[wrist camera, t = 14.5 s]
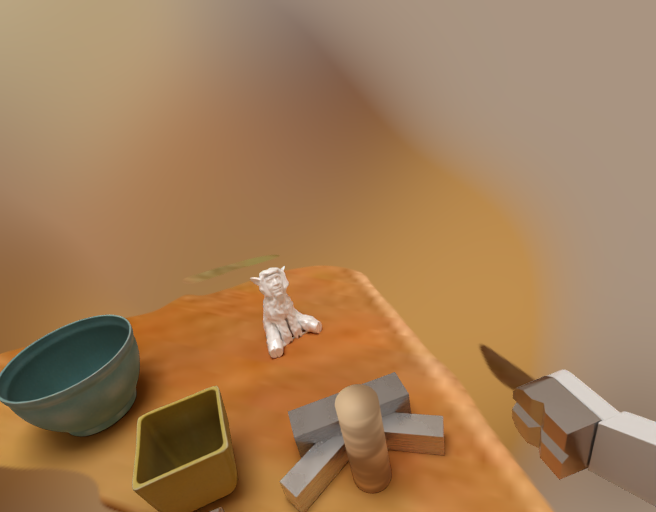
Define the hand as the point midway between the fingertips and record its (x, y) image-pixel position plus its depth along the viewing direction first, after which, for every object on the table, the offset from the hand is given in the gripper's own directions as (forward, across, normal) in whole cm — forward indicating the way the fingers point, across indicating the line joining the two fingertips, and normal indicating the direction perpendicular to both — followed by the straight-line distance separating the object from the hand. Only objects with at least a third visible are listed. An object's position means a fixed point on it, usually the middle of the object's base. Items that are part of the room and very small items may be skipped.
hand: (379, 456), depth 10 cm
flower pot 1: (+42, +29, +30) cm, 59 cm away
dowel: (+18, -3, +30) cm, 35 cm away
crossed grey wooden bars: (+21, -3, +30) cm, 37 cm away
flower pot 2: (+24, +14, +30) cm, 41 cm away
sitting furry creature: (+45, +1, +30) cm, 54 cm away
